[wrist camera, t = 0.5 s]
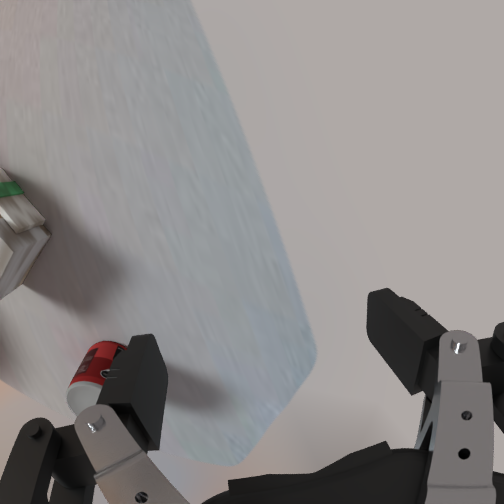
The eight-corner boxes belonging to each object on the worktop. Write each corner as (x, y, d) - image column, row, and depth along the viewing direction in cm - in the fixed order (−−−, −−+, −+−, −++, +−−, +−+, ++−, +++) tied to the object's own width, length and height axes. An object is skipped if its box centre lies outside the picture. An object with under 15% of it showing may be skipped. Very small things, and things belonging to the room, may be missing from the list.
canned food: (141, 381, 41) (130, 431, 31) (94, 378, 40) (75, 425, 30) (133, 339, 40) (116, 387, 29) (83, 337, 38) (57, 381, 28)
